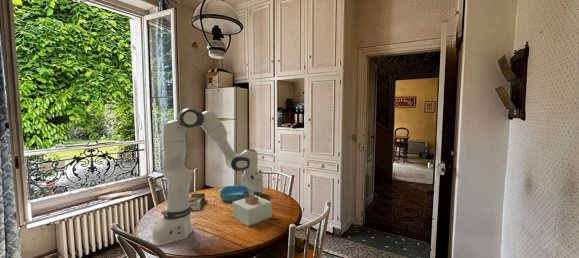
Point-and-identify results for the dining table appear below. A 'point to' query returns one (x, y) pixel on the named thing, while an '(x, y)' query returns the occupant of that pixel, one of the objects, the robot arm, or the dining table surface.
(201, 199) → the juice carton
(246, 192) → the small box
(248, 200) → the plunger
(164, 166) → the robot arm
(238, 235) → the dining table surface
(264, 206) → the housing
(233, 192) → the casserole dish
